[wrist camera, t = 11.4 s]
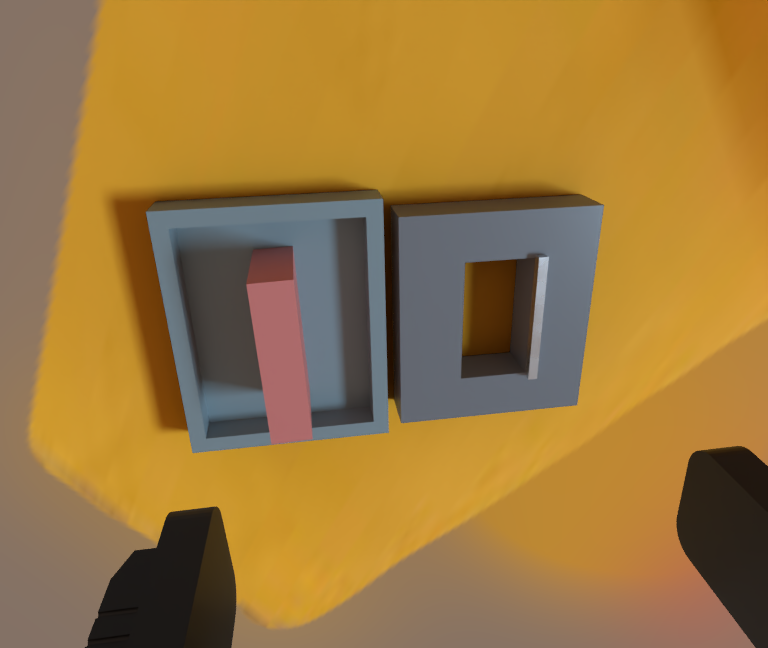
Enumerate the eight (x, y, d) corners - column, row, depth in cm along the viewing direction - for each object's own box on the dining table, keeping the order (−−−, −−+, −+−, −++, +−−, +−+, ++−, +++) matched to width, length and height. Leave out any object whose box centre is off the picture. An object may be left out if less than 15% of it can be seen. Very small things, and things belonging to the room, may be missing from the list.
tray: (377, 189, 36) (383, 198, 33) (383, 412, 42) (388, 432, 40) (155, 201, 34) (145, 211, 32) (198, 431, 41) (192, 453, 38)
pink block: (309, 387, 40) (292, 246, 36) (312, 439, 34) (293, 279, 30) (274, 391, 40) (253, 249, 35) (271, 444, 34) (246, 284, 30)
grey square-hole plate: (581, 194, 38) (608, 207, 34) (559, 383, 43) (580, 409, 40) (390, 205, 36) (400, 219, 33) (394, 399, 42) (402, 428, 39)
